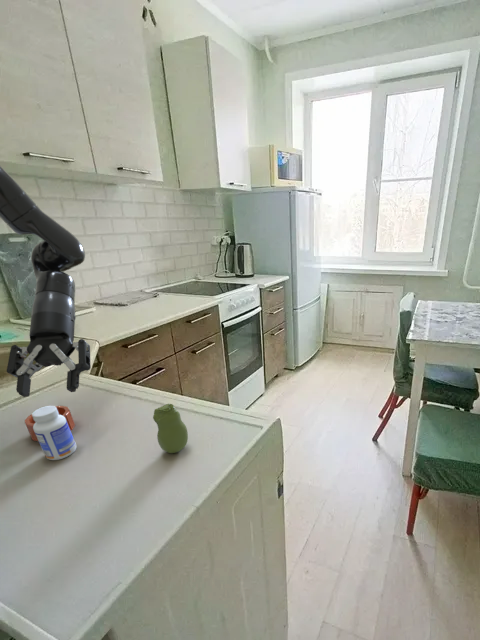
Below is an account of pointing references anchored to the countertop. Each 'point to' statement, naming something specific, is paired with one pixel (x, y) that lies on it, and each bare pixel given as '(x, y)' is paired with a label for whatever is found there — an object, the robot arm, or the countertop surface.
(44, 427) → the pill bottle
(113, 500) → the countertop surface
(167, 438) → the pear
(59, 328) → the robot arm
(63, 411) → the ring holder
